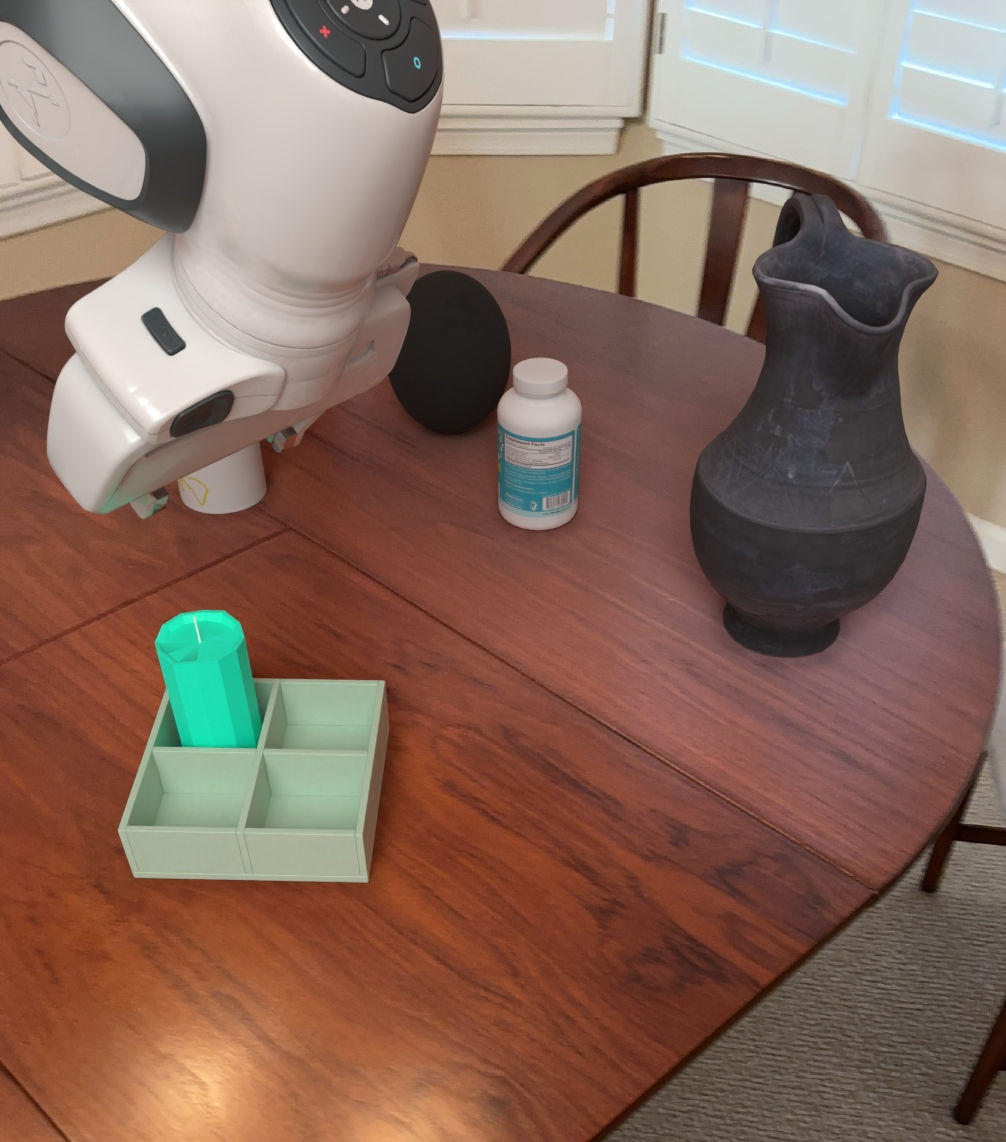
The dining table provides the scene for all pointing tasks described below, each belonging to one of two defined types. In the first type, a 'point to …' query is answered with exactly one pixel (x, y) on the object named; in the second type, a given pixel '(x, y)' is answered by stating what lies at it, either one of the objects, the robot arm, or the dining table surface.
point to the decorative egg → (452, 353)
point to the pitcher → (815, 440)
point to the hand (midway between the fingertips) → (214, 470)
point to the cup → (226, 483)
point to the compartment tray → (266, 790)
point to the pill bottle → (539, 446)
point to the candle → (209, 680)
